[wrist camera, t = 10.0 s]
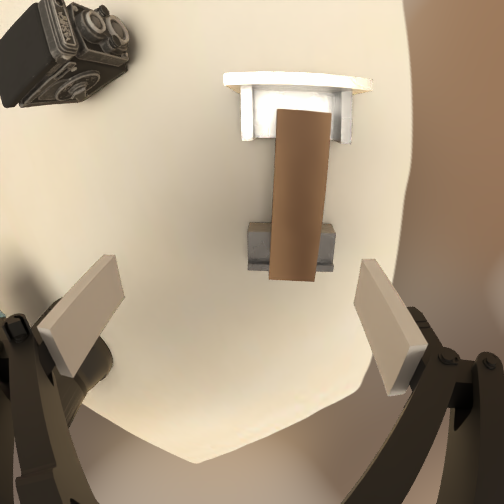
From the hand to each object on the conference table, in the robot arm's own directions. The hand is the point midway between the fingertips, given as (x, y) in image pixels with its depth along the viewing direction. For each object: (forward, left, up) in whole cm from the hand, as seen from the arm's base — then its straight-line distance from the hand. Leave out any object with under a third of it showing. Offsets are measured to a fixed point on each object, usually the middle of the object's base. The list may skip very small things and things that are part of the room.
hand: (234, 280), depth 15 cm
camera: (-19, +18, -22) cm, 34 cm away
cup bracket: (+4, +8, -22) cm, 23 cm away
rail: (+4, +1, -19) cm, 19 cm away
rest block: (+4, -7, -22) cm, 23 cm away
